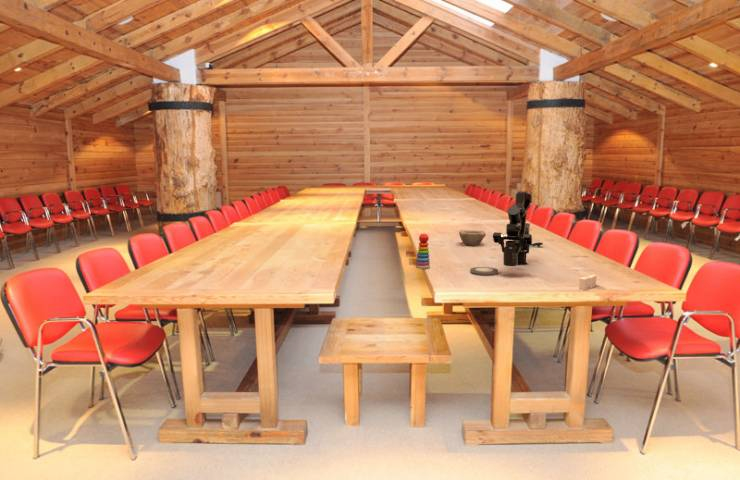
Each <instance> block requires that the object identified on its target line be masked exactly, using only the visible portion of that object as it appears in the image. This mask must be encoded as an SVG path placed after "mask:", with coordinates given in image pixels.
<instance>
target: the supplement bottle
mask: <svg viewBox="0 0 740 480" xmlns="http://www.w3.org/2000/svg"><path fill="white" fill-rule="evenodd" d="M515 245H516V241H513V240H505V243H504V249H503V252H502V253H503V254H502V255H503V257H502V258H503V259H502V260H503V266H507V267H515V266H518V265H517V264H518V253H517V247H516V246H515Z"/></svg>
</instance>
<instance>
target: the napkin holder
mask: <svg viewBox="0 0 740 480" xmlns="http://www.w3.org/2000/svg"><path fill="white" fill-rule="evenodd" d="M596 286H597V275H596V274H589V275H588V276H587V275H586V276H582V277H580V278H579V286H578V289H579V290H582V291H586V290H587V289H592V288H594V287H596Z"/></svg>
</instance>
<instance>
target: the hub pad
mask: <svg viewBox="0 0 740 480" xmlns="http://www.w3.org/2000/svg"><path fill="white" fill-rule="evenodd" d="M469 272H470V273H471V275H476V276H481V277H490V276H497V275H498V274H499V270H498V269H497V268H494V267H490V266H477V267H476V266H475V267H471V268H470V270H469Z"/></svg>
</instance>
